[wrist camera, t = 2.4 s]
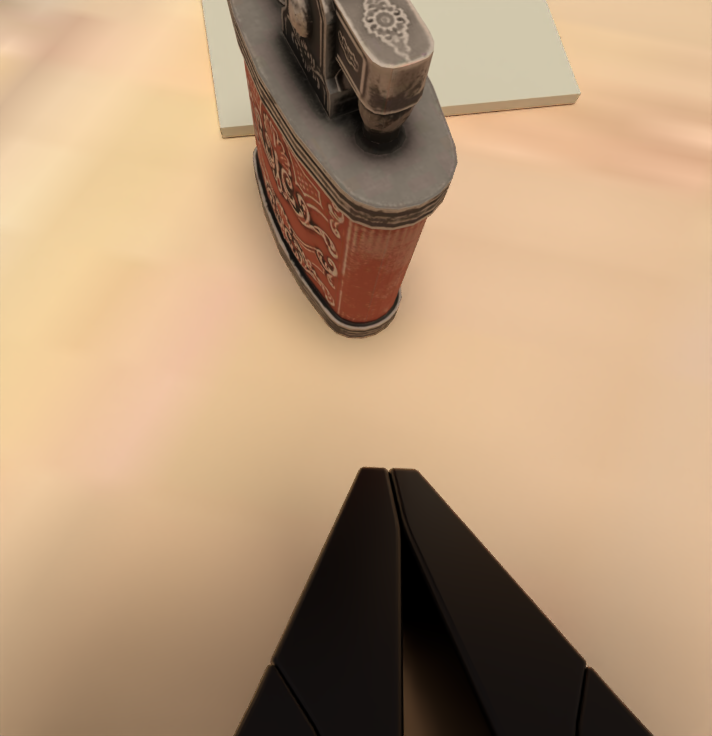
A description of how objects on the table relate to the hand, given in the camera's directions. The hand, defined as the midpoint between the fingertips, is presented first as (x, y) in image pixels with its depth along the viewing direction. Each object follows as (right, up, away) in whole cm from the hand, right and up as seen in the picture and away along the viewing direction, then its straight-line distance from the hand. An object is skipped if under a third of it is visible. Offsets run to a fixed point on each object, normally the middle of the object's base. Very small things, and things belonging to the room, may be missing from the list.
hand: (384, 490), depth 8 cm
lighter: (-2, +6, +10) cm, 12 cm away
